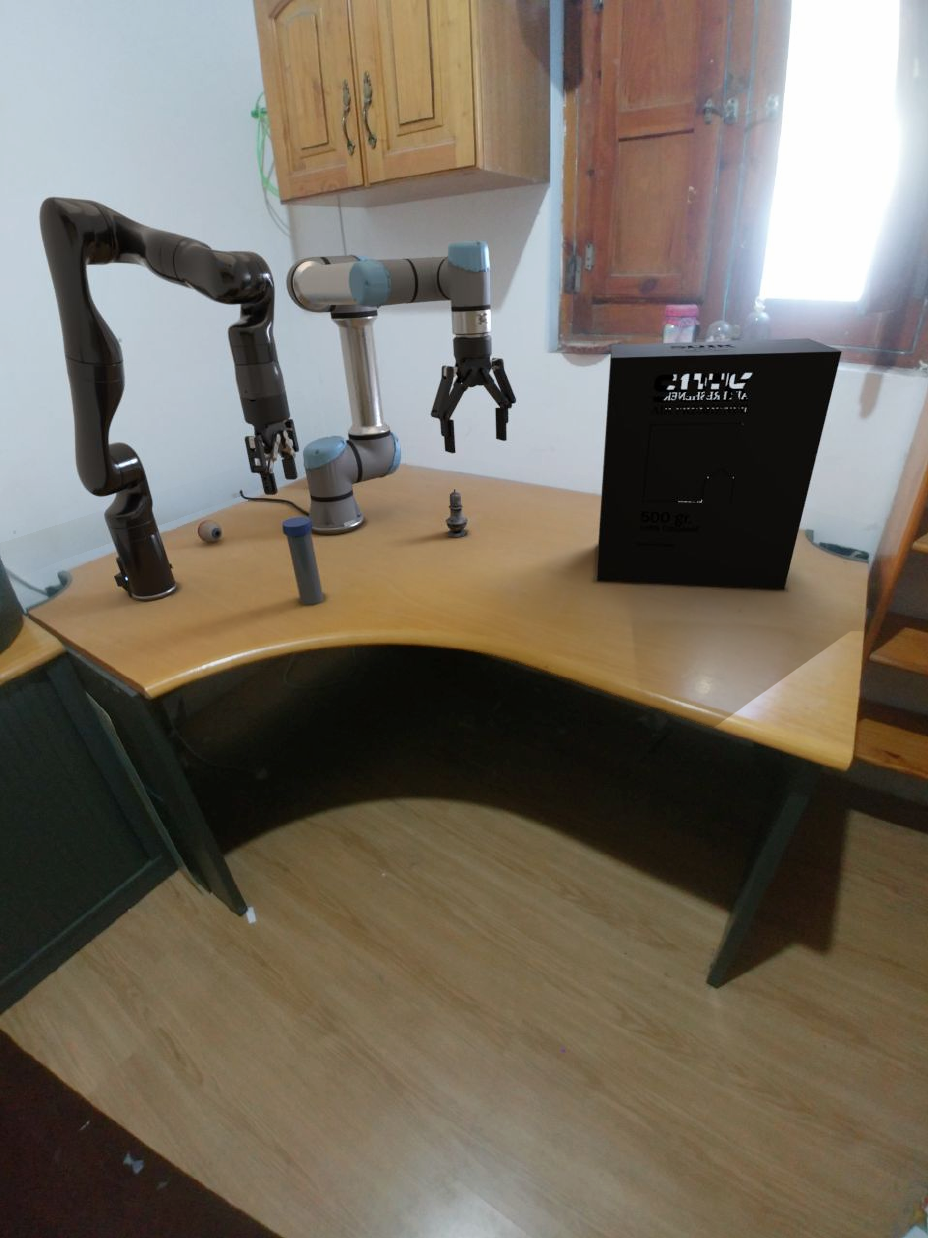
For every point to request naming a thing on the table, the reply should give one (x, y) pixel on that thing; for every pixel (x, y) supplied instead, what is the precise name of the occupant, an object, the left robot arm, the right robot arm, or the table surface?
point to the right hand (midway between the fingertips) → (476, 445)
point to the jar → (305, 569)
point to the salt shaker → (456, 516)
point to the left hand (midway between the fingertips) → (281, 486)
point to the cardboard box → (710, 460)
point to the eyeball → (209, 531)
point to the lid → (297, 526)
